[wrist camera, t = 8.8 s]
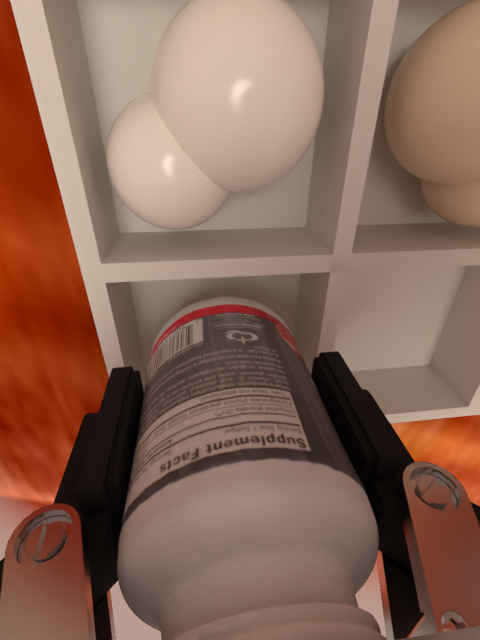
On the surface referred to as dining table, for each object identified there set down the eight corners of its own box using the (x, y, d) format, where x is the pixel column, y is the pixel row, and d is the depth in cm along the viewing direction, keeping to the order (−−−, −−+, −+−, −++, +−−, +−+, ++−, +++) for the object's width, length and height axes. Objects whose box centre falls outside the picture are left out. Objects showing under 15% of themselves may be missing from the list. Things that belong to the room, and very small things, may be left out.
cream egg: (239, -36, 9) (269, -134, 5) (324, 113, 11) (388, 117, 7) (86, 139, 11) (28, 156, 7) (184, 239, 13) (179, 293, 9)
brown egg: (335, 90, 11) (413, 82, 7) (463, -27, 10) (635, -110, 6) (411, 235, 14) (493, 281, 10) (514, 159, 13) (647, 180, 9)
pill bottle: (297, 390, 14) (444, 773, 6) (173, 416, 14) (148, 841, 6) (287, 276, 11) (542, 713, 3) (130, 308, 11) (-34, 844, 3)
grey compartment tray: (780, -18, 11) (999, -67, 8) (550, 356, 20) (617, 400, 17) (46, -62, 9) (-31, -156, 6) (139, 389, 17) (127, 449, 14)
